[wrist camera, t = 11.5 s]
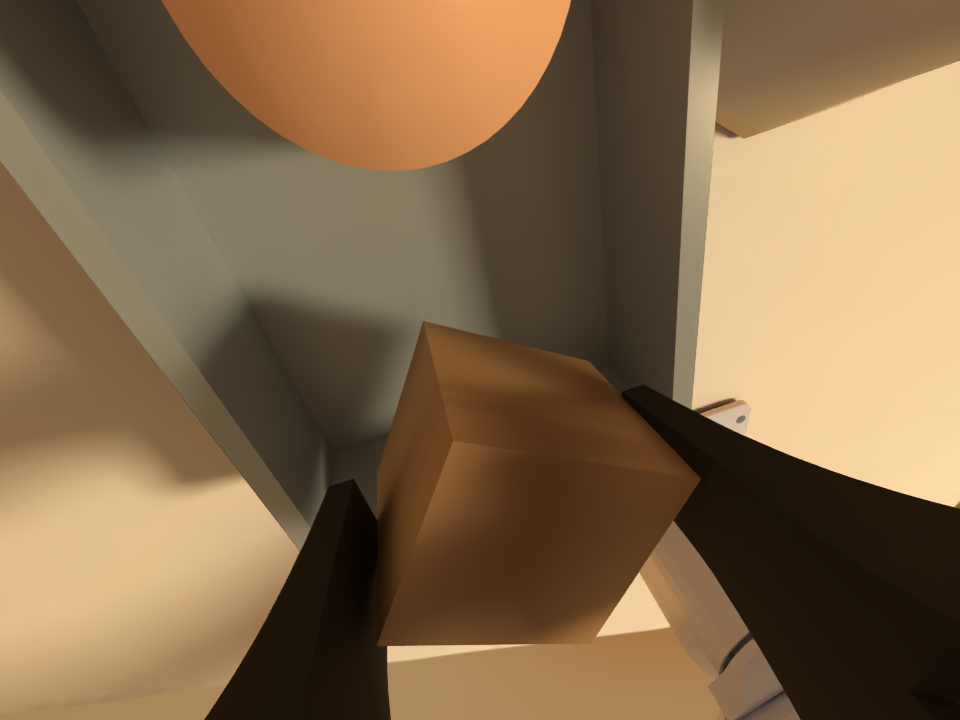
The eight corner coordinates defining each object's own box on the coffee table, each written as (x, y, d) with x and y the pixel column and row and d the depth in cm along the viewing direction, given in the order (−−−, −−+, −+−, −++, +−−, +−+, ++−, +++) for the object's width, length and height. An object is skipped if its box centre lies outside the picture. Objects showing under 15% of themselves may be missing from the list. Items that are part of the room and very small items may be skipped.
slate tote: (618, 366, 19) (688, 440, 15) (324, 459, 18) (312, 567, 14) (594, -255, 10) (768, -526, 5) (-25, -131, 9) (-392, -349, 4)
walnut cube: (588, 361, 12) (701, 478, 8) (526, 490, 14) (591, 643, 10) (423, 320, 11) (453, 440, 7) (377, 472, 13) (376, 645, 8)
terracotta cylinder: (476, -79, 10) (625, -350, 4) (460, 152, 13) (543, 183, 7) (245, -132, 9) (9, -610, 3) (276, 135, 11) (176, 154, 5)
